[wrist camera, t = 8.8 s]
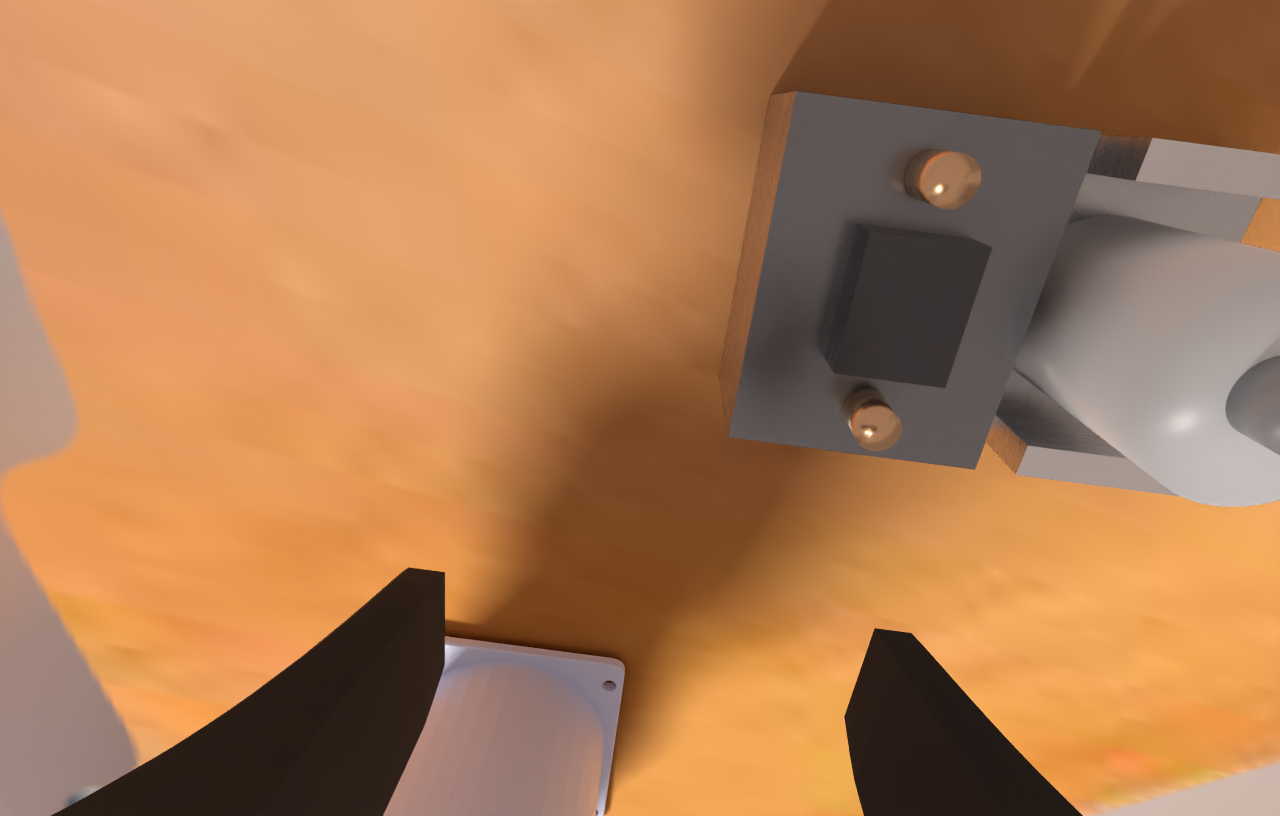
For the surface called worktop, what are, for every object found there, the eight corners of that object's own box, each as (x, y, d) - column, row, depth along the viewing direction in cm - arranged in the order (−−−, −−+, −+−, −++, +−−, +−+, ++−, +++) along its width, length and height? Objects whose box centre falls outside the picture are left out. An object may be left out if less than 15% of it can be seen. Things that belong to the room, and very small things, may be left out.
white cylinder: (1139, 396, 18) (1387, 550, 12) (971, 378, 18) (1128, 522, 12) (1214, 225, 16) (1558, 299, 10) (1027, 205, 16) (1249, 266, 10)
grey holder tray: (1121, 429, 20) (1261, 530, 15) (719, 376, 20) (732, 461, 15) (1247, 157, 17) (1474, 176, 12) (769, 95, 17) (806, 89, 12)
